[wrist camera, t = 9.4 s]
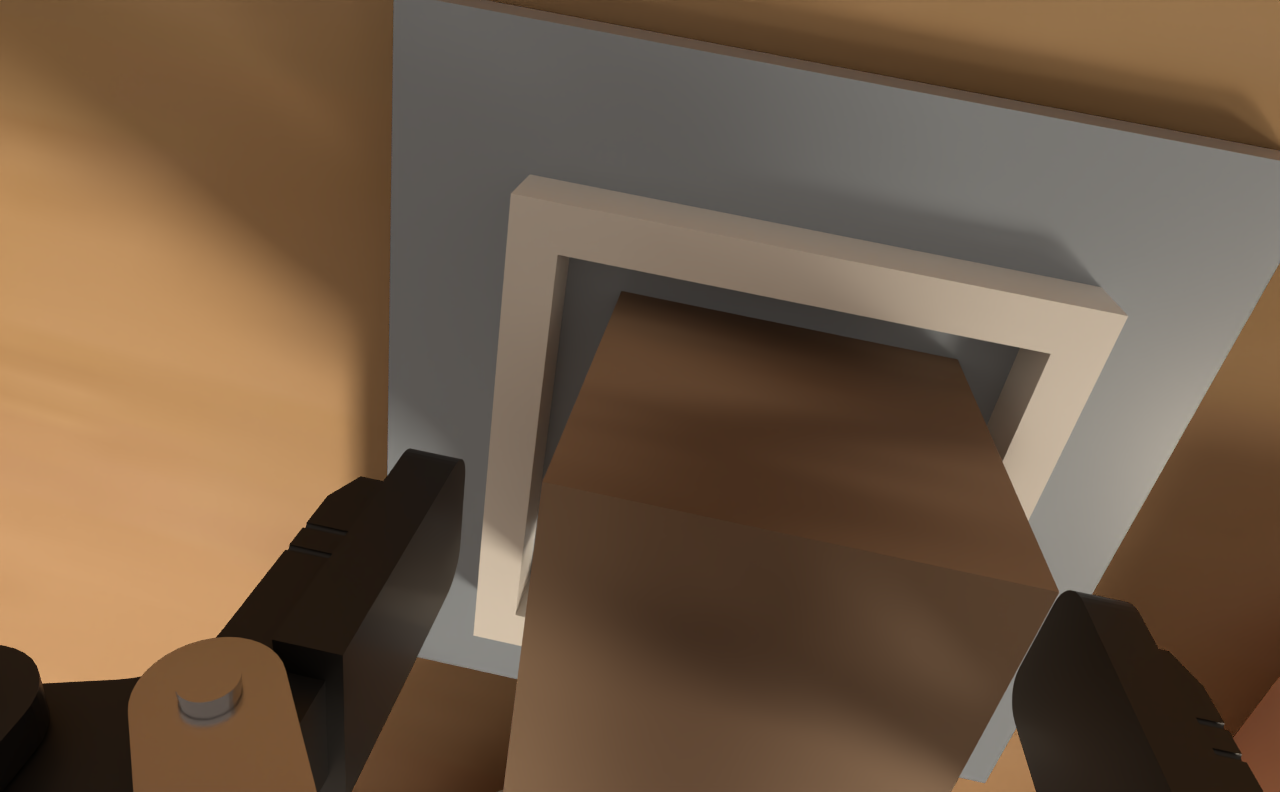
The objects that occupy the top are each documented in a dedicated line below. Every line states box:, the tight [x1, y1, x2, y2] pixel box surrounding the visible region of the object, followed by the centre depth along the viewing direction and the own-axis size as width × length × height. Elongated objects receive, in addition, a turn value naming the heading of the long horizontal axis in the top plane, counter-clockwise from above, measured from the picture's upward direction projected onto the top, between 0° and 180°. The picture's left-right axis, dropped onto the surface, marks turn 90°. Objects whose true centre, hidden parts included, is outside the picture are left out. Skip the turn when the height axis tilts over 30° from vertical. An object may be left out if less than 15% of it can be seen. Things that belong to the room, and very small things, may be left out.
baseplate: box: [387, 0, 1280, 783], centre depth 14 cm, size 12×12×2 cm
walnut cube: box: [503, 291, 1059, 792], centre depth 11 cm, size 5×5×5 cm
